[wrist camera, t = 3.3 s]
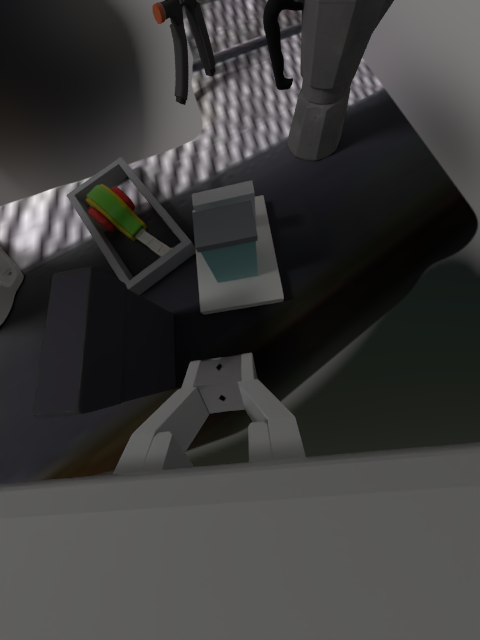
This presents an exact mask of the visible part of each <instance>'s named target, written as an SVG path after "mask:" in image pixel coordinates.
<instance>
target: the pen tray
mask: <svg viewBox="0 0 480 640" xmlns="http://www.w3.org/2000/svg"><path fill="white" fill-rule="evenodd" d="M127 177H128V178H129V179H130V180H131V181H132V183H133V184H134V185H135V186H136V187H137V189H138V190H139V191H140V192H141V194H142V195H143V196H144V197H145V199H146V200H147V201H148V202H149V204H150V205H151V206H152V207H153V209H154V210H155V211H156V212H157V213H158V215H159V216H160V217H161V218H162V220H163V221H164V222H165V223H166V225H167V226H168V227H169V228H170V230H171V231H172V232H173V233H174V235H175V236H176V237H177V238H178V239H179V241H180V242H181V243H179V244H178V245H177V246H175V247H174V248H172V249H171V250H170V251H168V252H167V253H166V254H164V255H163V256H162V257H160V258H159V259H158V260H156V261H155V262H154V263H152V264H151V265H150V266H148V267H147V268H146V269H144V270H143V271H142V272H140V273H139V274H138V275H136V276H135V277H133V276H132V275H131V273H130V271H129V270H128V268H127V267H126V265H125V264H124V262H123V261H122V259H121V258H120V256H119V255H118V253H117V252H116V250H115V249H114V247H113V246H112V244H111V242H110V241H109V239H108V238H107V236H106V235H105V233H104V232H103V230H102V229H101V227H100V226H99V224H98V223H97V221H96V220H95V219H94V218H93V217H91V216H90V215H89V213H88V210H89V209H88V207H87V206H88V205H89V204H88V203H87V201H86V198H88V197H87V194H88V193H89V192H90V191H91V190H92V189H93V188H94V187H95V186H96V185H101V184H103V185H105V186H107V187H108V188H109V189H111V188H112V187H114V186H116V185H117V184H119V183H120V182H121V181H123V180H124V179H126V178H127ZM67 197H68V198H69V200H70V201H71V203H72V205H73V206H74V208H75V209H76V211H77V213H78V214H79V216H80V217H81V219H82V221H83V222H84V224H85V225H86V227H87V229H88V230H89V232H90V233H91V235H92V237H93V238H94V240H95V241H96V243H97V245H98V246H99V248H100V249H101V251H102V253H103V254H104V256H105V257H106V259H107V261H108V262H109V264H110V266H111V267H112V269H113V270H114V272H115V274H116V275H117V277H118V278H119V280H120V281H122V282H124V283H125V284H126V286H127V289H129V290H131V291H132V292H134V293H136V294H138V295H140V294H142V293H143V292H144V291H146V290H147V289H148V288H150V287H151V286H152V285H154V284H155V283H156V282H158V281H159V280H160V279H162V278H163V277H164V276H166V275H167V274H168V273H170V272H171V271H172V270H174V269H175V268H176V267H178V266H179V265H180V264H182V263H183V262H184V261H186V260H187V259H188V258H190V257H191V256H192V255H194V254H195V253H196V249H195V247H194V245H193V243H192V242H191V240H190V239H189V238H188V237H187V236H186V234H185V233H184V232H183V231H182V230H181V228H180V227H179V226H178V225H177V224H176V222H175V221H174V220H173V219H172V218H171V216H170V215H169V214H168V213H167V212H166V210H165V209H164V208H163V207H162V206H161V204H160V203H159V202H158V201H157V200H156V198H155V197H154V196H153V195H152V194H151V192H150V191H149V190H148V189H147V188H146V186H145V185H144V184H143V183H142V182H141V180H140V179H139V178H138V177H137V176H136V174H135V173H134V172H133V171H132V170H131V168H130V167H129V166H128V165H127V163H126V162H125V161H124V160H123V159H122V158H121V157H120V158H119V159H117V160H116V161H114V162H113V163H111V164H110V165H109V166H107V167H106V168H104V169H103V170H102V171H100V172H99V173H97V174H96V175H95V176H93V177H92V178H90V179H89V180H87V181H86V182H85V183H83V184H82V185H80V186H79V187H77V188H76V189H75V190H73V191H72V192H70V193H69V194H68V195H67Z"/></svg>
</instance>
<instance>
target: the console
mask: <svg viewBox="0 0 480 640" xmlns="http://www.w3.org/2000/svg"><path fill="white" fill-rule="evenodd" d="M248 200H251V202H252V208H253V213H254V219H255V224H256V230H257V236H258V241H256V253H257V267H258V275H257V276H252V277H246V278H241V279H235V280H229V281H224V282H217V280H216V279H215V277H214V275H213V273H212V272H211V270H210V268H209V266H208V265H207V263H206V261H205V259H204V258H203V256H202V254H201V252H197V250H196V261H197V273H198V286H199V298H200V310H201V313H202V314H204V315H205V314H211V313H217V312H223V311H229V310H235V309H242V308H248V307H254V306H260V305H266V304H272V303H278V302H283V300H284V296H283V291H282V286H281V281H280V276H279V271H278V266H277V261H276V256H275V251H274V246H273V241H272V236H271V231H270V226H269V221H268V216H267V211H266V206H265V201H264V196H263V195H262V196H257V197H255V195H254V188H253V183H252V180H251V181H247V182H243V183H238V184H234V185H229V186H225V187H220V188H216V189H212V190H207V191H203V192H198V193H194V194H192V201H193V208H194V210H193V211H192V212H198V211H202V210H207V209H212V208H216V207H221V206H225V205H230V204H235V203H239V202H244V201H248Z"/></svg>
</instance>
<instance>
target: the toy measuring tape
mask: <svg viewBox="0 0 480 640" xmlns="http://www.w3.org/2000/svg"><path fill="white" fill-rule="evenodd" d="M87 197H88V198H86V201H87V203H88V204H89V205H90V206H91V208H90V209H89V210H88V213H89V215H90V216H91V217H93V218H94V219H95V220H96V221H97V222H98V223H100V224H101V225H102V226H103V227H104V228H106V229H107V230H108V231H110V232H112V231H114V230H115V228H117V229H118V230H119V231H120V232H122V233H123V234H124V235H126V236H127V237H128V238H129V239H131V240H132V241H135V240H136V239H138V240H139V241H141V242H142V243H144V244H145V245H146V246H148V247H149V248H150V249H151V250H152V251H154V252H155V253H156V254H158V255H159V256H161V257H162V256H163V255H164V254H166V253H167V252H168V251H170V250H171V249H172V248H170V247H168V246H167V245H165V244H164V243H162V242H160V241H159V240H157V239H156V238H155V237H153V236H152V235H150V234H149V233H147V232H146V231H145V230H146V229H147V228H148V227H147V225H146V224H145V223H144V222H143V221H142V220H141V219H140V218H139V217H138V216H137V215H136V214H135V213H134V212H133V210H134V209H135V205H134V204H133V202H132V201H131V200H130V198H129V197H128V196H127V195H126V194H125V193H124V192H123V191H121V190H120V189H119V188H117V187H112V188H111V189H109V188H108V187H107V186H105V185H103V184H101V185H96V186H95V187H94V188H93V189H92V190H91V191H90V192H89V193H88V194H87Z"/></svg>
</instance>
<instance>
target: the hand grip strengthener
mask: <svg viewBox="0 0 480 640" xmlns="http://www.w3.org/2000/svg"><path fill="white" fill-rule="evenodd" d="M183 5H184V7H185V12H186V15H187V18H188V21H189V24H190V27H191V30H192V33H193V36H194V39H195V42H196V45H197V48H198V52H199V55H200V58H201V62H202V65H203V67H204V69H205V73H206V75H208V76H212V75H213V73H214V72H215V67H214V66H215V60H214V55H213V51H212V47H211V43H210V40H209V36H208V32H207V28H206V25H205V21H204V18H203V14H202V11H201V8H200V4H199V3H198V2H196V0H165V1H163V2H160V3H156V4H154V5H153V14H154V17H155V20H156V21H157V23H158V24H161V23H163V22H164V21H165V20H166V19H168V18H170V19H171V23H172V24H171V25H170V28H171V32H172V37H173V42H174V51H175V69H176V85H175V86H176V87H175V96H176V101H177V102H179V103H181V104H184V105H185V103H186V100H187V95H188V50H187V39H186V34H185V29H184V23H183V12H182V7H183Z"/></svg>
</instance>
